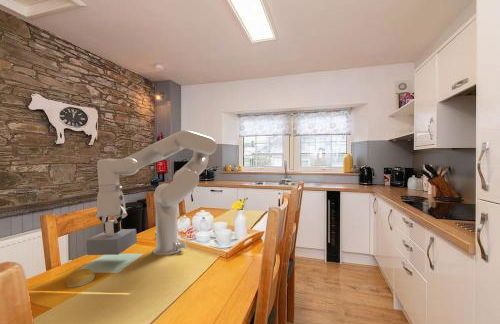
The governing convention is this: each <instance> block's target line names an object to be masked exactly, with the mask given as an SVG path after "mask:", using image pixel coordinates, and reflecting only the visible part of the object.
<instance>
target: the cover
mask: <svg viewBox="0 0 500 324" xmlns="http://www.w3.org/2000/svg"><path fill="white" fill-rule="evenodd" d="M114 223H115V222H114V219H111V220H110V219H109V221H107V222H105V231H106V233H104V231H102V232H101V233H98V234H96V235H94V236H92V237H90V238H87V239H86V240H85V243H86V255H87V256H102V255H119V254H123V252H124V251H127V249H129V248H131V247H132V246H133V245H135V244H137V243H138V237H137V236H138V235H137V228H127V229H125V228H120V231H119V232H117V233H114Z"/></svg>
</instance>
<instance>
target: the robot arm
mask: <svg viewBox="0 0 500 324" xmlns="http://www.w3.org/2000/svg"><path fill="white" fill-rule="evenodd" d="M217 145H218V144H217V141H216V140H215V139H214V138H213V137H210V136H207V135H204V134H201V133H198V132H195V131H193V130H192V131H191V130H188V129H183V130H180V131H178V132H175V133H173V134H171V135H169V136H167V137H164V138H162V139H160V140H158V141H156V142H154V143H152V144H150V145H148V146H146V147H145V148H143V149H140V150H138V151H137V152H134V153H132V154H131V155H128V156H126V157H123V158H119V159H116V158H105V159H99V160H97V164H96V167H97V169H96V170H97V182H98V193H97V196H96V214H95V218H97V219H99V220H100V222H101V224H103V232H104V233H106V231H105V222H107V221H110V217H113V220H114V222H115V223H114V233H117V232H119V231H120V229H121V222H122V220H123V219H124V218H126V217H127V216H128V213H127V210H126V209H127V208H126V200H125V195H124V193H123V190H121V189H122V188H123V185H121V183H120V176H132V175H135V174H137V172H139V170H140V169H142V168H143V167H146V166H149V165H150V164H153V163H157V162H160V161H163V160H165V159H167V158H169V157H171V156H173V155H174V154H177V153H179V152H180V151H182V150H184V149H187V150H190V151H193V156H192V157H191V159H190V160H189V161H188V162H187V163H185V164H184V165H183V166H182V167H181V168H180V169H179V170H177V171H176V172H175V173H174V175H173V176H172V178H173V179H172V181H171V182H170V183H161V184H159V185H158V186H157V187H155V190H154V193H153V201H154V209H155V237H156V239H155V242H156V246H155V247H154V248H153V250H152V253H153V254H154V255H157V256H170V255H175V254H177V253H180V251H182V249H186V247H187V243H186V242H185V241H183V242H181V241H180V240H181V239H180V238H178V234H179V233H178V208H177V205H178V204H179V205H180V203H181V202H182V201H184V200H185V198H187V196H189V195H190V194H191V193H192V192H193V191H194V190H195V189H196V188H197V186H198V185H199V183H200V177H199V176H200V175H201V174H202V173H203V172H204V171H205V169H206V168H207V167H208V164H209V159H210V158H209V157H210V156H211V155H213V154H214V153H215V152H216V151H217V150H218V149H217V148H218V146H217Z"/></svg>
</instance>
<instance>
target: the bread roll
mask: <svg viewBox="0 0 500 324" xmlns="http://www.w3.org/2000/svg"><path fill="white" fill-rule="evenodd" d="M79 269H80V268H79ZM95 277H96V274H95V273H93V272H92V271H91V270H89V269H80V270H78V269H77V271H76V270H74V271H73V272H72V273H71V274H69V275H68V276H67V278H66V280H65V282H66V287H67V288H76V287H82V286H85V285H87V284H89V283H91V282H92V281H94V280H95Z"/></svg>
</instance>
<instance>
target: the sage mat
mask: <svg viewBox="0 0 500 324" xmlns="http://www.w3.org/2000/svg"><path fill="white" fill-rule="evenodd" d="M143 255H144V253H120V254H119V255H100V256H99V257H97V258H96V259H94V260H92V261H90V262H89V263H87V264H85V265H83V266H82V267H80V268H78V269H77V270H80V269H89V270H91V271H92V272H93V273H94V274H95V273H96V274H97V273H98V274H102V273H103V274H106V273H107V274H119V273H120V272H121V271H123V270H124V269H125V268H126V267H128V266H130V265H131V264H132V263H134V262H135V261H136V260H138V259H139V258H140V257H142V256H143ZM77 270H75V271H77Z"/></svg>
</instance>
